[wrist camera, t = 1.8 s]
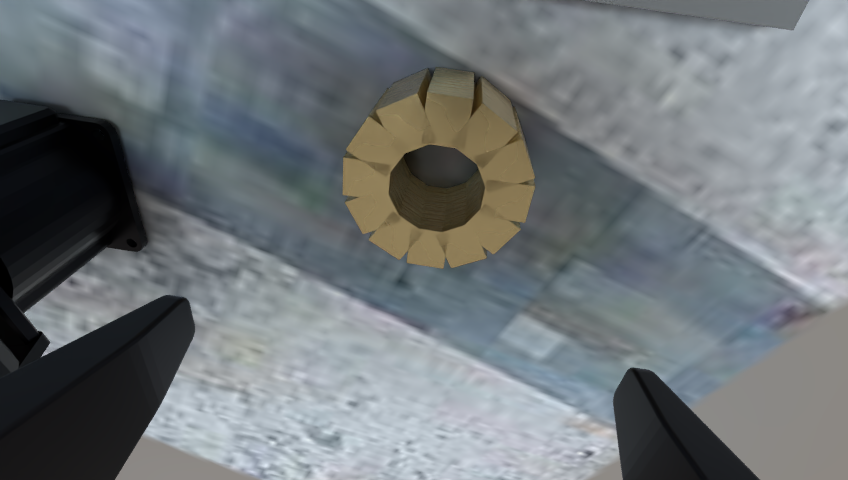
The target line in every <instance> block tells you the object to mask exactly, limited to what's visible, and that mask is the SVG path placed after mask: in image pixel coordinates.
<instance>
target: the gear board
mask: <svg viewBox="0 0 848 480" xmlns="http://www.w3.org/2000/svg"><path fill="white" fill-rule="evenodd" d="M584 1H591V2H598V3H605V4H612V5H619V6H626V7H633V8H640V9H647V10H654V11H661V12H668V13H675V14H682V15H689V16H696V17H703V18H710V19H717V20H724V21H731V22H738V23H745V24H752V25H759V26H766V27H773V28H780V29H787V30H794V28H795V26H796V24H797V22H798V20H799V19H800V17H801V15H802V13H803V11H804V9H805V7H806V5H807V4H808V2H809V0H584Z"/></svg>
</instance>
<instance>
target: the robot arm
mask: <svg viewBox="0 0 848 480" xmlns="http://www.w3.org/2000/svg"><path fill="white" fill-rule="evenodd" d="M99 130H101V131H102V132H103V134H104V136H103V135H102V134H101V133H100V131H99ZM146 244H147V239H146V235H145V232H144V228H143V225H142V221H141V217H140V214H139V210H138V207H137V203H136V200H135V196H134V193H133V189H132V186H131V182H130V178H129V175H128V171H127V168H126V164H125V161H124V157H123V154H122V150H121V147H120V143H119V139H118V136H117V133H116V130H115V128H114V127H113V126H112V125H111V124H110V123H108V122H107V121H104V120H100V119H94V118H87V117H81V116H74V115H67V114H61V113H57V112H56V111H55V110H53V109H51V108H49V107H45V106H39V105H32V104H25V103H19V102H12V101H5V100H0V480H115V478H116V477H117V475H118V474H119V472H120V470H121V469H122V467H123V466H124V464H125V462H126V461H127V459H128V457H129V456H130V454H131V453H132V451H133V449H134V448H135V446H136V444H137V443H138V441H139V439H140V438H141V436H142V435H143V433H144V431H145V430H146V428H147V427H148V425H149V423H150V422H151V420H152V418H153V417H154V415H155V413H156V412H157V410H158V408H159V407H160V405H161V403H162V401H163V399H164V397H165V395H166V393H167V391H168V389H169V387H170V385H171V383H172V381H173V379H174V377H175V374H176V372H177V370H178V368H179V366H180V364H181V362H182V360H183V358H184V356H185V354H186V352H187V349H188V347H189V345H190V343H191V341H192V339H193V337H194V333H195V324H194V320H193V316H192V311H191V307H190V303H189V301H188V300H187V299H186V298H184V297H179V296H173V295H165V296H162V297H160V298H158V299H156V300H154V301H152V302H150V303H148V304H146V305H144V306H142V307H140V308H138V309H136V310H134V311H132V312H130V313H128V314H126V315H124V316H122V317H120V318H118V319H116V320H114V321H112V322H110V323H108V324H106V325H104V326H102V327H100V328H98V329H96V330H94V331H92V332H90V333H88V334H86V335H84V336H83V337H81V338H79V339H77V340H75V341H73V342H71V343H69V344H67V345H65V346H63V347H61V348H59V349H57V350H55V351H53V352H51V353H49V354H47V355H45V356H43V357H41V356H42V354H43V353H44V351H45V350H46V348H47V347H48V345H49V344H50V341H49V340H48V339H47V338H46V336H45V335H44V334H43V333H42V332H41V331H37V330H36V328H35V327H34V326H33V325H32V323H31V322H30V321H29V320H28V318H27V317H26V316H25V315H24V312H26V311H27V310H28V309H30V308H31V307H32V306H33V305H35V304H36V303H37V302H38V301H40V300H41V299H42V298H43V297H45V296H46V295H47V294H48V293H50V292H51V291H52V290H53V289H55V288H56V287H57V286H58V285H60V284H61V283H62V282H64V281H65V280H66V279H67V278H69V277H70V276H71V275H72V274H74V273H75V272H76V271H77V270H79V269H80V268H81V267H82V266H84V265H85V264H86V263H87V262H89V261H90V260H91V259H93V258H94V257H95V256H96V255H98V254H99V253H100V252H101V251H103V250H104V249H105V248H106V247H108V248H115V249H121V250H128V251H134V252H138V251H140V250H141V249H143V248H144V247H145V246H146ZM40 357H41V358H40ZM613 406H614V414H615V422H616V430H617V438H618V447H619V455H620V462H621V470H622V477H623V480H760V479H759V478H758V477H757V476H756V475H755V474H754V473H753V472H752V471H751V470H750V469H749V468H748V467H747V466H746V465H745V464H744V463H743V462H742V461H741V460H740V459H739V458H738V457H737V456H736V455H735V454H734V453H733V452H732V451H731V450H730V449H729V448H728V447H727V446H726V445H725V444H724V443H723V442H722V441H721V440H720V439H719V438H718V437H717V436H716V435H715V434H714V433H713V432H712V431H711V430H710V429H709V428H708V427H707V426H706V425H705V424H704V423H703V422H702V421H701V420H700V418H698V417H697V415H696V414H694V412H693V411H692V410H691V409H690V408H689V407H688V406H687V405H686V404H685V403H684V402H683V401H682V400H681V399H680V398H679V397H678V396H677V395H676V394H675V393H674V392H673V391H672V390H671V389H670V388H669V387H668V386H667V385H666V384H665V383H664V382H663V381H662V380H661V379H660V378H659V377H658V376H657V375H656V374H655V373H654V372H652V371H650V370H646V369H640V368H630V369H628V370H627V372H626V373H625V375H624V377H623V379H622V381H621V382H620V384H619V386H618V388H617V389H616V391H615V394H614V398H613Z"/></svg>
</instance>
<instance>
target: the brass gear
mask: <svg viewBox="0 0 848 480" xmlns="http://www.w3.org/2000/svg"><path fill="white" fill-rule="evenodd" d="M429 144H431V145H438V146H444V147H451V148H456V149H458V150H459V151H460V152H462V153H463V154H464V155H465V156H467V157H468V158H469V159H471V160H472V161H473V162H475V163H476V164H477V166H478V170H477V171H476V172H475V173H474V175H473V176H472V177H471V178H470V179H469V180H468V181H467V182H466V183H463V184H460V185H457V186H454V187H451V188H448V189H446V188H440V187H433V186H427V185H426V184H425V183H423V182H422V181H420V180H419V179H418V178H416V177H415V176H414V175H412V174H411V172H410V170H409V168H408V166H407V164H406V162H405V159H404V157H403V156H404V154H405V153H408V152H410V151H413V150H416V149H418V148H421V147H424V146H426V145H429ZM346 150H347V153H346V154H345V156H344V157H343V195H347V196H348V197H347V199H346V201H345V204H346V206H347V207H348V209H349V211H350V212H351V214H352V216H353V218H354V219H355V221H356V223H357V225H358V226H359V228H360V230H361V232H362V233H363V234H365V233H368V232H371V231H372V232H371V235H370V237H369V241H371V242H372V243H374V244H375V245H377V246H378V247H380V248H382V249H383V250H385V251H386V252H388V253H389V254H391V255H392V256H394V257H395V258H397V259H398V260H400V259H401V258H402V257H403V255H404V254H405V253H406V252H407V251H408V256H407V263H410V264H417V265H423V266H429V267H436V268H442V269H443V267H444V262H445V256H446V258H447V260H448V263H449V265H450V267H451V268H454V267H457V266H461V265H464V264H468V263H472V262H475V261H479V260H482V259H486V258H487V252H486V249H487V250H488V251H490V252H491V253H492V254H495V253H496V252H497V251H498V250H499V249H500V248H501V247H502V246H503V245H504V244H505V243H507V242H508V241H509V240H510V239H511V238H512V237H513V236H514V235H515V234H516V233H517V232H518V231H520V230H521V229H520V223H519V222H523V223H525V221H526V217H527V214H528V210H529V207H530V203H531V200H532V196H533V193H534V189H535V183H534V178H535V175H534V172H533V168H532V164H531V160H530V156H529V152H528V149H527V145H526V141H525V138H524V134H523V131H522V128H521V125H520V122H519V119H518V115H517V112H516V109H515V107H512V105H511V101H510V99H509V98H507V97H506V96H505V95H504V94H503V93H501V92H500V91H499V90H498V89H497V88H495V87H494V86H493V85H492V84H491V83H489V82H488V81H487V80H486V79H485V78H484V77H482V76H481V77H480V79H479V80H478V81H477V82H476V84H475V85H474V72H467V71H460V70H454V69H447V68H440V67H436V69H435V71H434V74H433V77H431V75H430V72H429V70H428V68H427V69H424V70H422V71H420V72H418V73H415V74H413V75H411V76H408V77H406V78H404V79H401V80H399V81H397V82H394V83H393V85H392V86H391V88H390V89H389V88H387V89H386V91H385V92H384V94H383V95H382V97H381V98H380V100H379V101H378V103H377V104H376V105H375V107H374V108H373V110H372V111H371V113H370V114H369V116H368V117H367V119H366V120H365V122H364V123H363V125H362V126H361V128H360V129H359V131H358V132H357V134H356V135H355V137H354V138H353V140H352V141H351V143H350V144H349V146H348V147H347V149H346Z"/></svg>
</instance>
